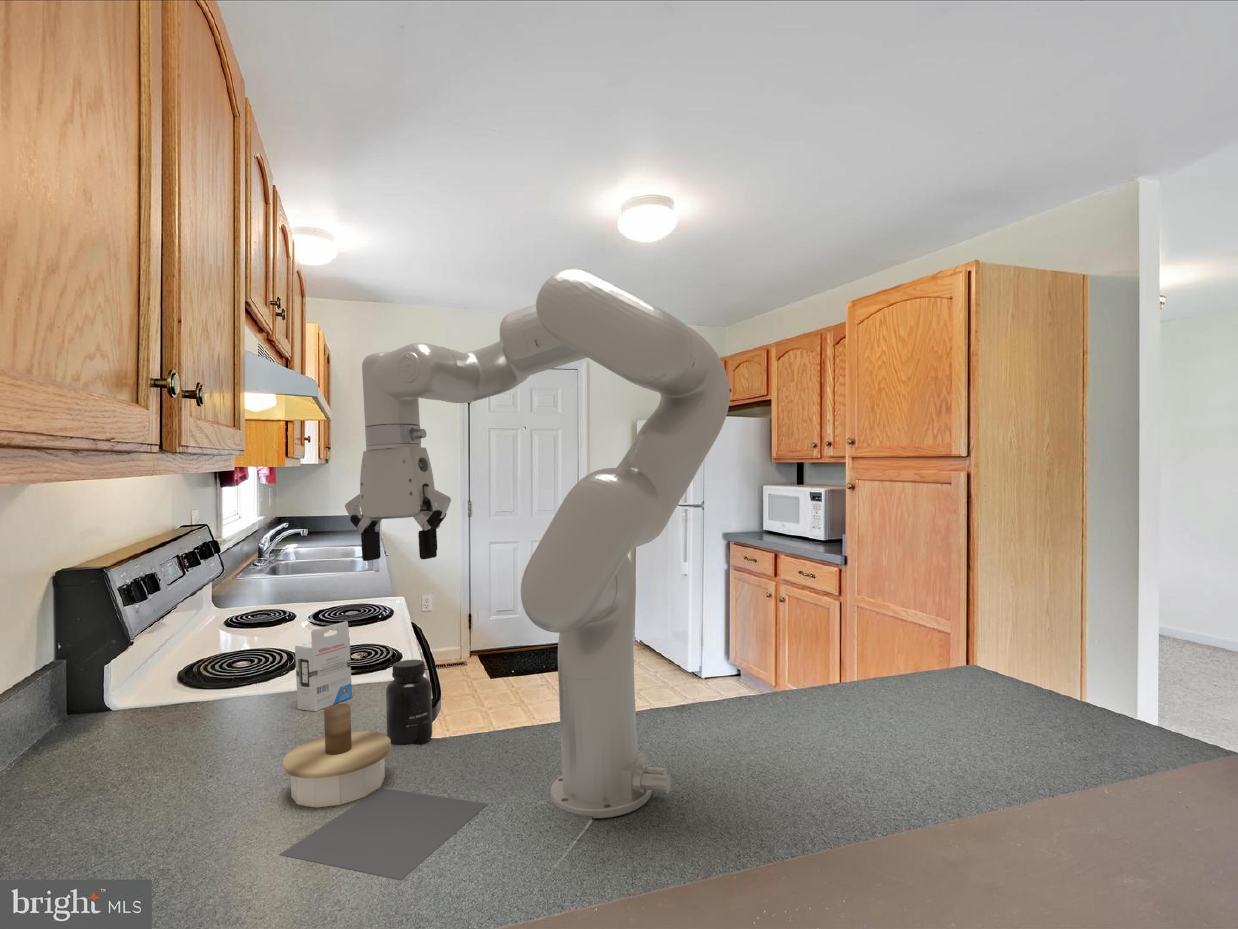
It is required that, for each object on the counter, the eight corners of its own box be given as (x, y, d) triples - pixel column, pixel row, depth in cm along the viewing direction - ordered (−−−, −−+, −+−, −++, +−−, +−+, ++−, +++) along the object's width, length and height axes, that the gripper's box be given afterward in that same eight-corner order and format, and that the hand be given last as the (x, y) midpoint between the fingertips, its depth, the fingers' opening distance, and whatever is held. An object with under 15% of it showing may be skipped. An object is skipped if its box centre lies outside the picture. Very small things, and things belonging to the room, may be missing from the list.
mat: (488, 808, 81) (488, 803, 81) (401, 885, 66) (401, 879, 66) (381, 792, 86) (381, 788, 86) (279, 860, 71) (279, 854, 71)
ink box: (335, 695, 129) (332, 619, 130) (353, 698, 127) (350, 620, 127) (295, 709, 122) (293, 628, 122) (314, 712, 119) (311, 630, 120)
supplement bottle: (419, 749, 100) (416, 669, 100) (378, 748, 101) (375, 669, 102) (440, 732, 107) (438, 657, 107) (401, 731, 108) (399, 657, 108)
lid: (411, 741, 91) (409, 695, 92) (341, 783, 79) (339, 730, 79) (336, 733, 96) (335, 689, 96) (259, 771, 84) (258, 721, 84)
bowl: (401, 777, 91) (400, 744, 91) (341, 816, 80) (340, 778, 81) (337, 768, 95) (336, 736, 95) (273, 804, 84) (271, 768, 84)
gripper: (459, 436, 96) (466, 554, 96) (362, 445, 102) (367, 557, 101) (429, 433, 89) (436, 561, 89) (326, 443, 95) (331, 563, 94)
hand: (399, 559), depth 95 cm, fingers open, 9 cm apart
